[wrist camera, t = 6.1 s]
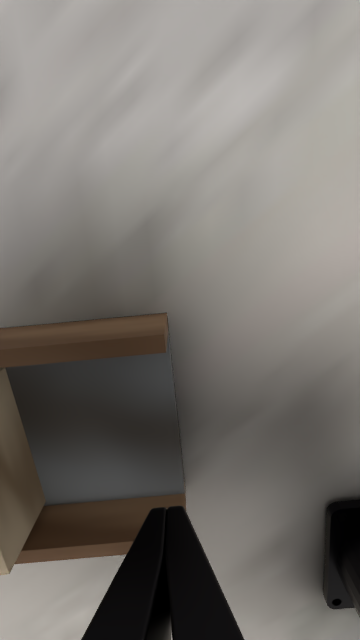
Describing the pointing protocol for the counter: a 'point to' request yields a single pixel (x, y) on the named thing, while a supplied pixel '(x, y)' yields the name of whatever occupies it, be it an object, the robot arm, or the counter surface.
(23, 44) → the counter surface
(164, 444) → the brown wooden tray
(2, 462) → the tan wooden brick
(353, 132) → the counter surface
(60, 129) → the counter surface
